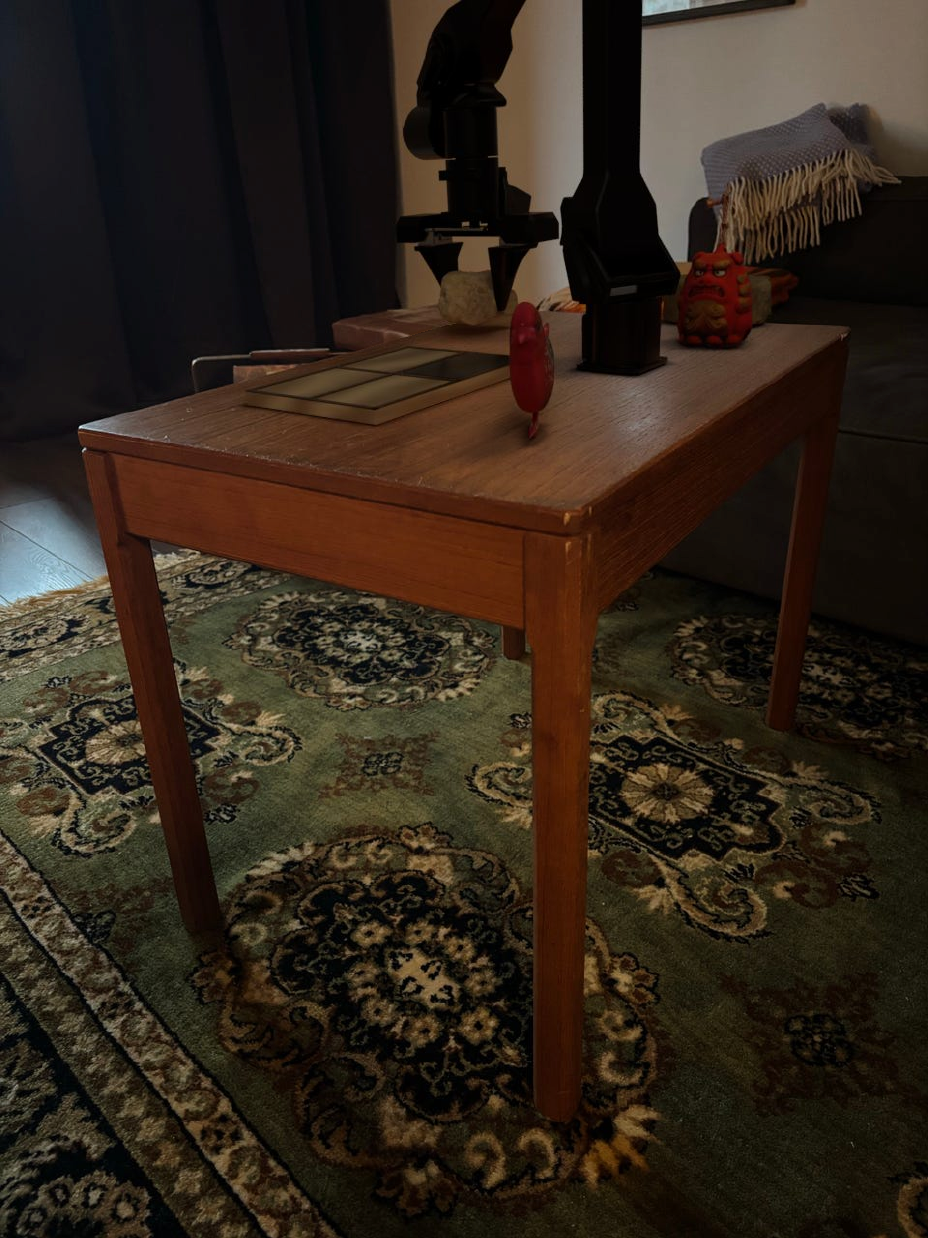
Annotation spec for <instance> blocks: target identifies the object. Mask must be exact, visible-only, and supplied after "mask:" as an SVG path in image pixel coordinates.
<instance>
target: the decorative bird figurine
mask: <svg viewBox="0 0 928 1238" xmlns="http://www.w3.org/2000/svg"><path fill="white" fill-rule="evenodd" d="M508 337H509V338H508V339H509V343H508V344H509V355H510V361H509V362H510V378H509V379H510V385H511V391H512V394H513V398H514V400H515V402H516V404H517V406H518V407H519V409H520V410H521V411H523V412H524V413H527V414H532V415H531V419H530V422H529V429H528V435H529V436H528V439H529V440H531V439H532V438H534V437H536V436H537V434H538V431H539V427H540V421H539V413H540V412H543V410H544V409H545V408H546V407H547V406H548V404H549V402H550V400H551V396H552V393H553V388H554V383H555V355H554V354H555V353H554V349H553V345H552V342H551V339H550V324H549V322H546V323H545V324H544V323H543V320H542V317H541V313H540V312H539V310H538V309H537V307H536V305H534V304H533V303H532V302H529V301H521V302H520V303H519V302H518V305H517V306H516V308H515V309H514V312H513V315H511V320H510V325H509V336H508Z"/></svg>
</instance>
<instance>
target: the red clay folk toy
mask: <svg viewBox="0 0 928 1238" xmlns="http://www.w3.org/2000/svg"><path fill="white" fill-rule="evenodd" d="M731 193H732V191H731V182H726V191H724V192H723V193H722V197H721V199H713V198H712V197H708V198H707V199H705V202H706V206H705V208H706V209H707V210H708V209H709V210H710V209H711V208H713V207H715V206H720V205H721V206H722V221H721V224H720V226H721V233H720V234H721V235H720V238H719V240H718V244H717V248H716V249H715V250H714V251H713V252H711V253H708V252H704V251H699V252H697V253H695V255H694V256H693V257H692V261H691V266H690V269H689V271H688V272H687V273H686V274H687V276H686V278H685V281H684V284H683V286H682V288H681V289H680V294H679V299H678V310H679V315H678V320H677V323H676V328H677V329H676V330H677V332H678V340H679V342H680V343H681V344H682V345H683V344H686V345H695V346H697V345H704V346H709V347H711V348H731V347H738V346H739V347H740V344H741V343H743V342H745V341H746V340H747V338H748V337H749V335H750V334H751V332H752V330H753V325H754V324H753V313H752V303H753V296H752V289H751V284H750V280H749V277H748V275H749V274H748V272H747V270H746V267H745V265H744V263H743V261H744V258H743V253H741V252H739V251H733V252H728V249H727V236H726V235H727V234H726V232H727V230H728V229H729V228H730V226H729V225H730V224H729V221H728V220H727V217H728V213H729V204H730V195H731Z"/></svg>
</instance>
